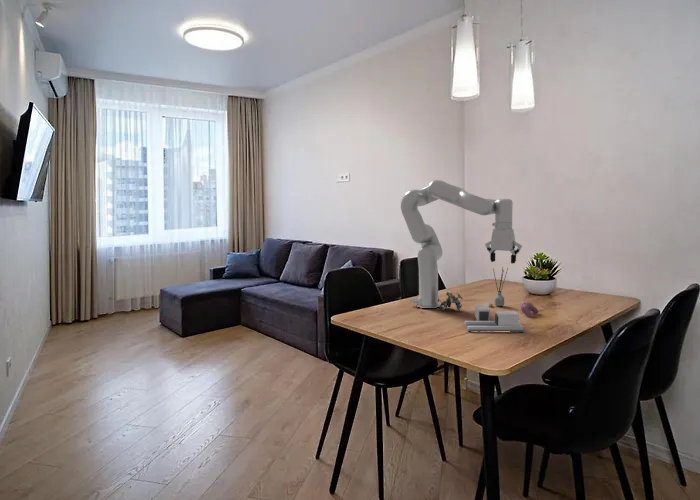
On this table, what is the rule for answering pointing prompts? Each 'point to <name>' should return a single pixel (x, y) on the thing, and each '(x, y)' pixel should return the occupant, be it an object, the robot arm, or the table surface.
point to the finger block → (482, 313)
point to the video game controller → (528, 309)
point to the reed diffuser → (499, 298)
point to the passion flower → (451, 301)
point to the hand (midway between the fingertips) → (502, 262)
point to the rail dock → (498, 323)
